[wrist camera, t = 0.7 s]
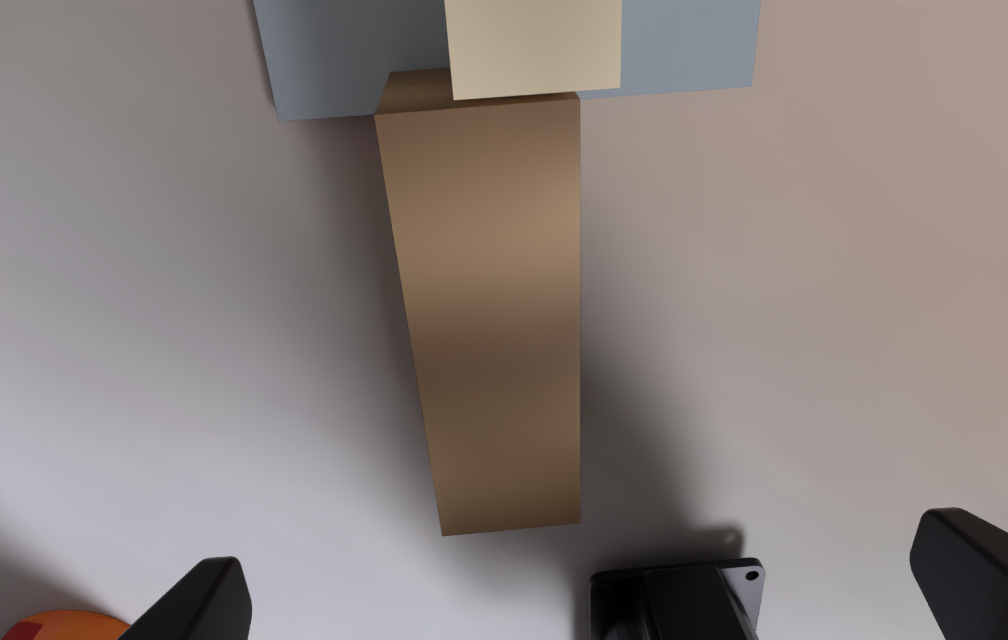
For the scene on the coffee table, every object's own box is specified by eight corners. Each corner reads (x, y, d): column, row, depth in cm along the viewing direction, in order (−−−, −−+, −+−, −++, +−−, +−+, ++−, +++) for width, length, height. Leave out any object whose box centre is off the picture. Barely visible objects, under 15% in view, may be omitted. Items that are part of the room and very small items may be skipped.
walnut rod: (560, 431, 23) (580, 523, 19) (443, 441, 23) (442, 536, 19) (553, 59, 16) (579, 98, 13) (389, 72, 16) (373, 115, 13)
